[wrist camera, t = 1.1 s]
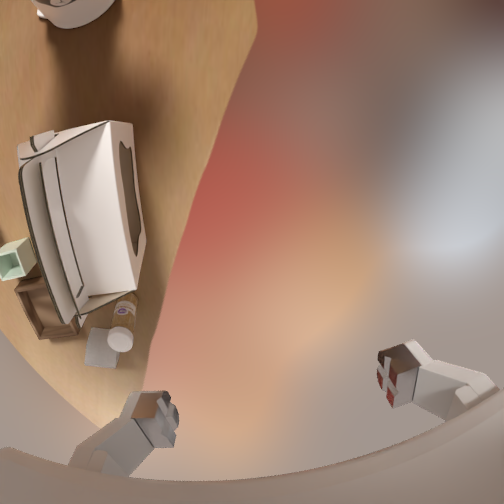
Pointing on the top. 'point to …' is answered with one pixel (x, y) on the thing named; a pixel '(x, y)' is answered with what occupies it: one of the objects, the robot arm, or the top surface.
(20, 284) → the large crate
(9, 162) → the top surface
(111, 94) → the top surface
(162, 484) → the robot arm
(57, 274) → the gable box
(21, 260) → the box
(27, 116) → the top surface
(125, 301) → the sprinkles bottle
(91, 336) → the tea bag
